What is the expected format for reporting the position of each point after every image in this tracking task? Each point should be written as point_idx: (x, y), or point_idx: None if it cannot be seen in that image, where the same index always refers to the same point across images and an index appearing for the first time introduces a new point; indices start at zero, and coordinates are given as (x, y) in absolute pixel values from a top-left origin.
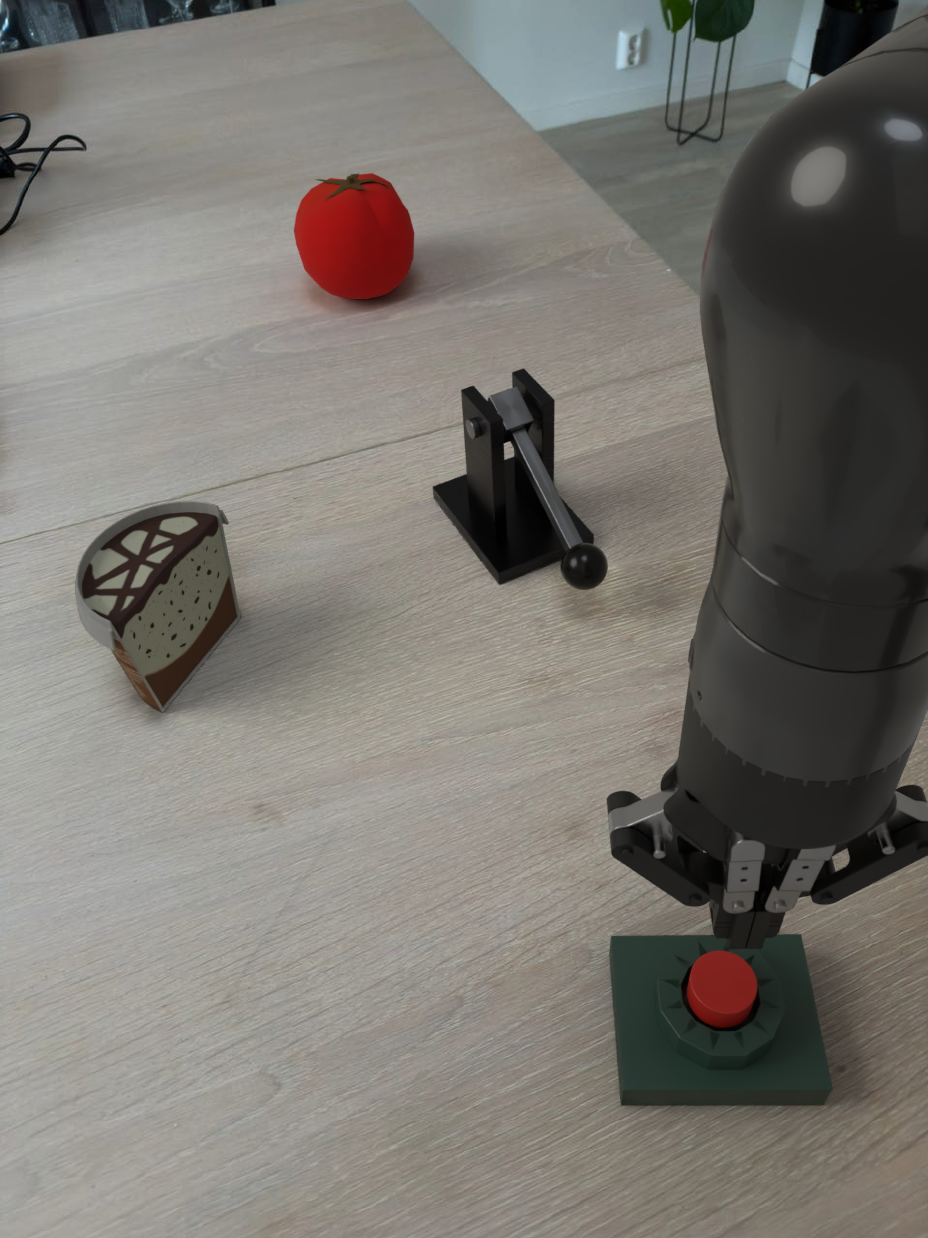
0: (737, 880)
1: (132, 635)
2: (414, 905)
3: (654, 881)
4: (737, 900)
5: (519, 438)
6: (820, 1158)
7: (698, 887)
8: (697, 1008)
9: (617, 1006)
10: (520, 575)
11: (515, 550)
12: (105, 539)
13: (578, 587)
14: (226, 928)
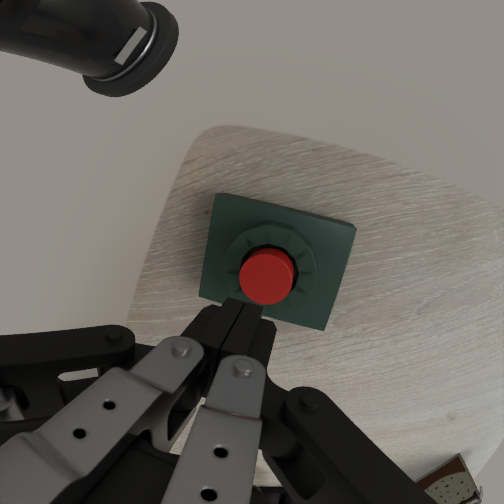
0: (234, 457)
1: (469, 490)
2: (416, 368)
3: (381, 457)
4: (241, 382)
5: None
6: (239, 164)
7: (305, 431)
8: (291, 266)
9: (339, 284)
10: (279, 487)
11: (278, 496)
12: None
13: (256, 488)
14: (492, 366)
